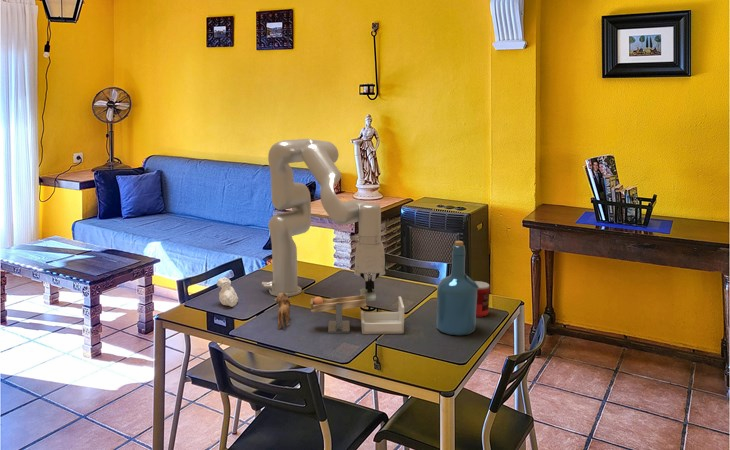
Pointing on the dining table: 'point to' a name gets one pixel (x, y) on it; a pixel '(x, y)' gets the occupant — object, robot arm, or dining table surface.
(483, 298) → the canned food
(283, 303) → the lion figurine
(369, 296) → the lever
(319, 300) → the ball
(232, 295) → the duck figurine
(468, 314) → the wine bottle
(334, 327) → the fulcrum
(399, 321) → the bin
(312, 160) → the robot arm
